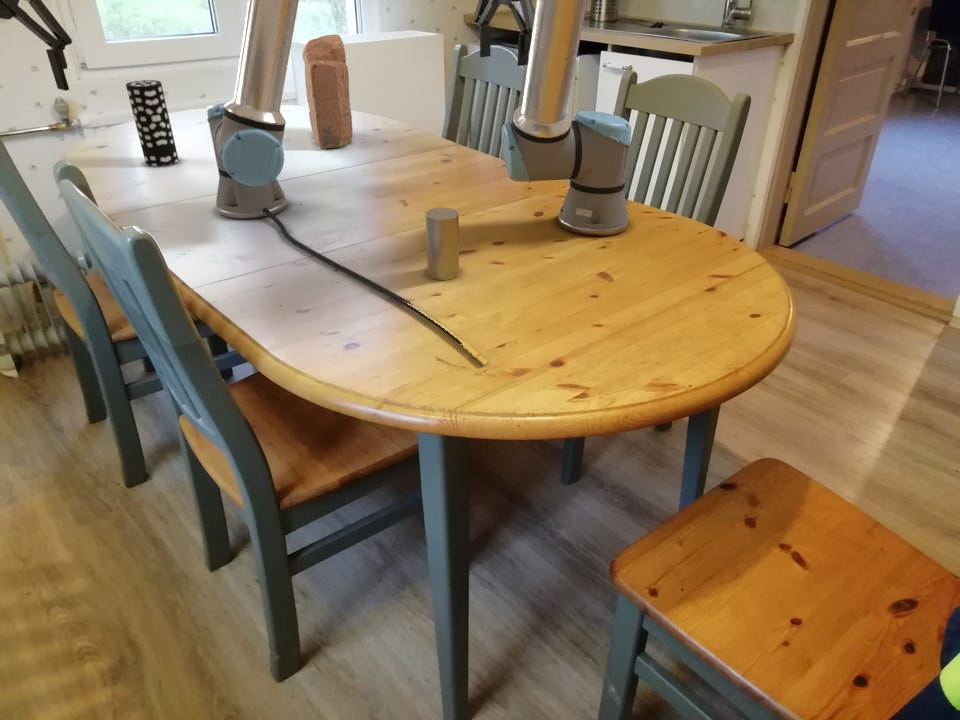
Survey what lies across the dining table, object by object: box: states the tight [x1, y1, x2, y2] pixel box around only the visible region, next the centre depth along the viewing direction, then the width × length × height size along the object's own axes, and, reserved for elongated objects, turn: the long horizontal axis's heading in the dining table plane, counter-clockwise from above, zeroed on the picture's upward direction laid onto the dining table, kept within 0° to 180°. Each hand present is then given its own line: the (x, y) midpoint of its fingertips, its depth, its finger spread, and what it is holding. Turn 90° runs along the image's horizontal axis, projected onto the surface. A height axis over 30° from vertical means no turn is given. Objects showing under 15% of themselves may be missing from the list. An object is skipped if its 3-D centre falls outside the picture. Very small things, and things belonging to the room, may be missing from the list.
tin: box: [425, 207, 460, 281], centre depth 127 cm, size 6×6×12 cm
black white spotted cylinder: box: [125, 79, 179, 167], centre depth 181 cm, size 8×8×20 cm
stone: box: [302, 34, 354, 149], centre depth 199 cm, size 22×11×28 cm, turn 18°
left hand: (24, 95), depth 119 cm, fingers open, 13 cm apart
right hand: (503, 60), depth 164 cm, fingers open, 13 cm apart
